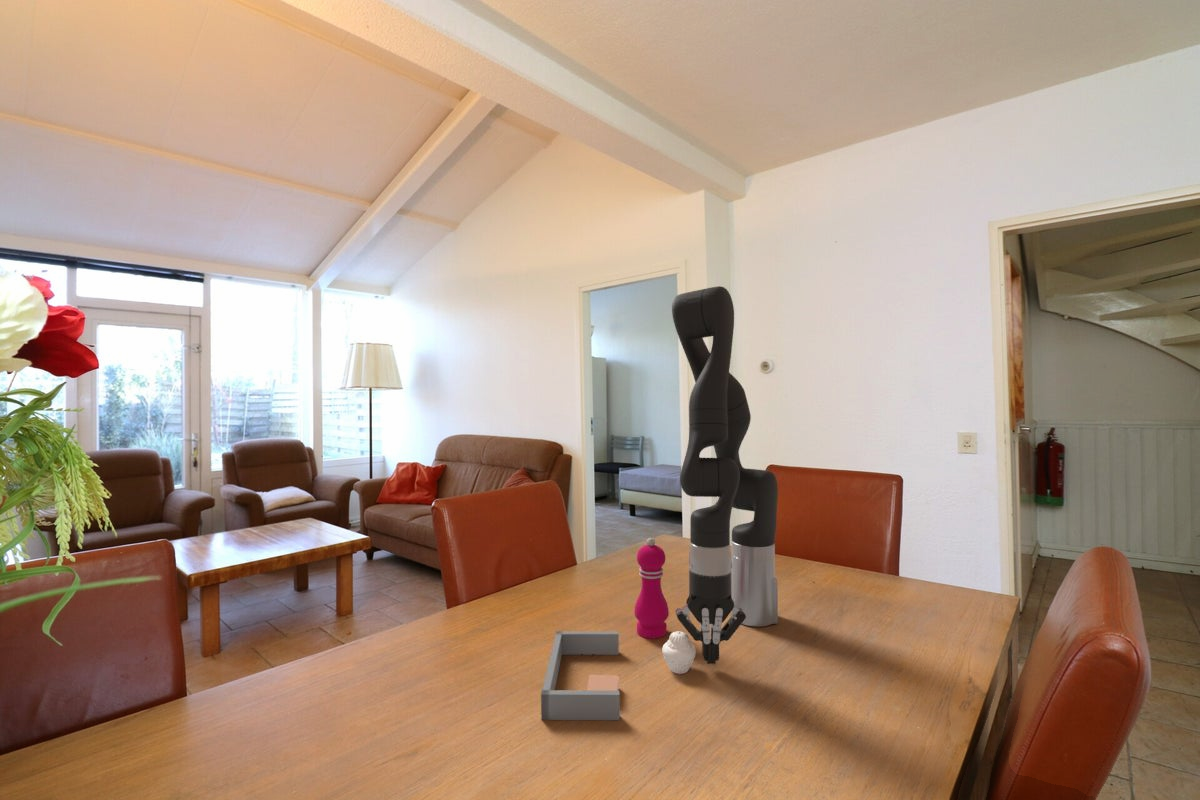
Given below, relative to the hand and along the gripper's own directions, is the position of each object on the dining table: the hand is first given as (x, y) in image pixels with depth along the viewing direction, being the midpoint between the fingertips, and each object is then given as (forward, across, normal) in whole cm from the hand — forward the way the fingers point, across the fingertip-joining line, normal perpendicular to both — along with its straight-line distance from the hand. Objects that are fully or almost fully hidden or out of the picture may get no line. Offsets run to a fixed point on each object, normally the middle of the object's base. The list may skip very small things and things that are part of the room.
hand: (710, 661), depth 102 cm
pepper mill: (+2, +10, -16) cm, 19 cm away
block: (+2, +20, +8) cm, 21 cm away
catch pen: (+2, +23, +4) cm, 23 cm away
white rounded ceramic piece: (+2, +6, 0) cm, 6 cm away
